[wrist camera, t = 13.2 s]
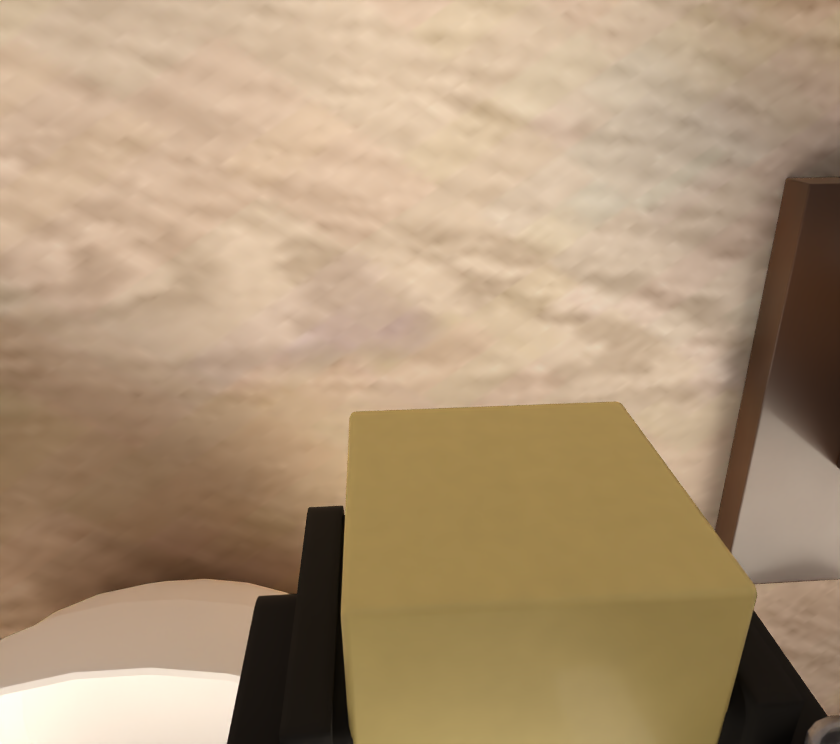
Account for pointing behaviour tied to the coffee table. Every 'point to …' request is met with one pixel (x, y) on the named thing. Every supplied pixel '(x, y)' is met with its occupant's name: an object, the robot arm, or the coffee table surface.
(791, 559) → the lever stand
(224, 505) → the coffee table surface
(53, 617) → the bowl
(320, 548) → the robot arm
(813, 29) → the coffee table surface
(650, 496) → the butter
